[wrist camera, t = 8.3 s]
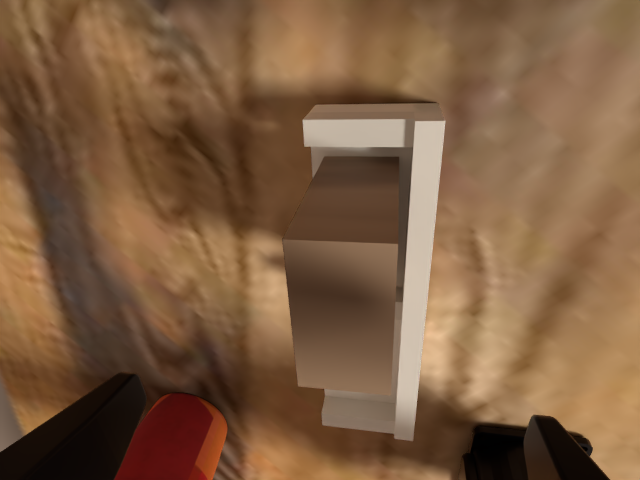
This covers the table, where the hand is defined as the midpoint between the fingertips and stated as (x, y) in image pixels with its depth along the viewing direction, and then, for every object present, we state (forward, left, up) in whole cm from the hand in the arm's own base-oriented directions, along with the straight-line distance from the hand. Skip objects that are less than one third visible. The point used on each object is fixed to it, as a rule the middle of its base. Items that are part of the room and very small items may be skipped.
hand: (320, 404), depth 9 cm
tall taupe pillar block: (0, 0, -10) cm, 10 cm away
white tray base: (-1, +4, -11) cm, 12 cm away
